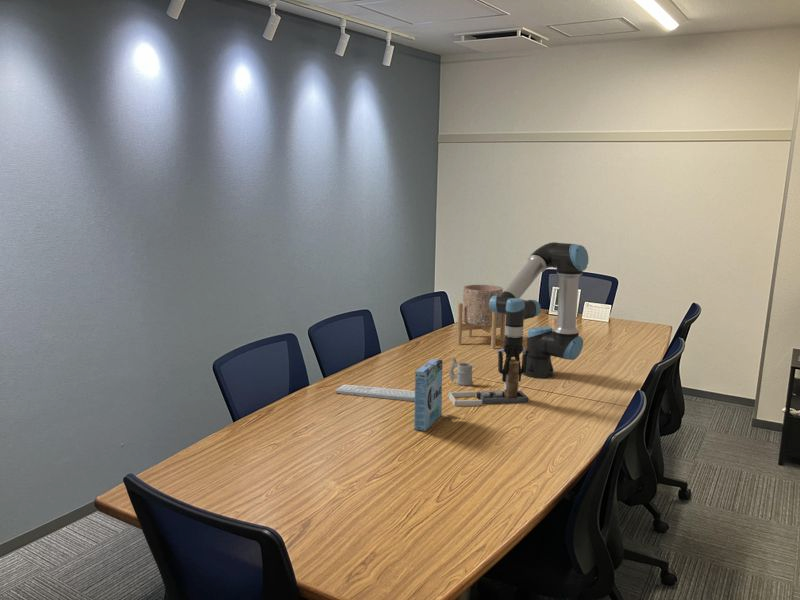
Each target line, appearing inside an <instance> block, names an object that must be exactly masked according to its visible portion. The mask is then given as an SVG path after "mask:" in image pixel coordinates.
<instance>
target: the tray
mask: <svg viewBox="0 0 800 600" xmlns="http://www.w3.org/2000/svg"><path fill="white" fill-rule="evenodd" d="M447 395H448V398H449V400H450V401H451V403H452V404H453V406H454V407H463V406H464V407H469V406H483V404H482V400H479V399H472V400H471V399H468V400H466V399H465V400H464V399H463V400H457V399H456V398H469V397H476V392H475V391H474V390H471V391H448V394H447Z"/></svg>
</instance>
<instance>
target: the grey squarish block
mask: <svg viewBox="0 0 800 600" xmlns="http://www.w3.org/2000/svg"><path fill="white" fill-rule="evenodd" d="M479 392H480V399H481V398H490V393H489V392H490V391H488V390H480V391H479Z"/></svg>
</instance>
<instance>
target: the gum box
mask: <svg viewBox="0 0 800 600" xmlns="http://www.w3.org/2000/svg"><path fill="white" fill-rule="evenodd" d="M414 374H415V375H414V376H415V377H414V378H415V380H414V384H415V385H414V391H415V401H414V422H413V423H414V426H413V428H414V430H417V431H422V432H426V431H427V430H428V429H430V427H431V426H432V425H433V424H434V423H435V422H436V421H437V420H438V419H439V418H440V417H441V416H442V410H443V408H442V404H443V399H442V398H443V359H436V358H431V359H430V360H428V361H427V362H426V363H424V364H423V365H422V366H420V368H418V369H417V370H415V373H414Z"/></svg>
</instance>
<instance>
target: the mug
mask: <svg viewBox="0 0 800 600" xmlns="http://www.w3.org/2000/svg"><path fill="white" fill-rule="evenodd" d="M455 367H457V369H456V373H457V374H455V373H454V369H455ZM449 378H450V381H454V380H455V379H456V380H455V383H456V386H457V387H469V386H473V383H474V382H473V364H471V363H470V362H459V363H457V360H456V358H455V357H453V358H452V362H451V365H450V368H449Z"/></svg>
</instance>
